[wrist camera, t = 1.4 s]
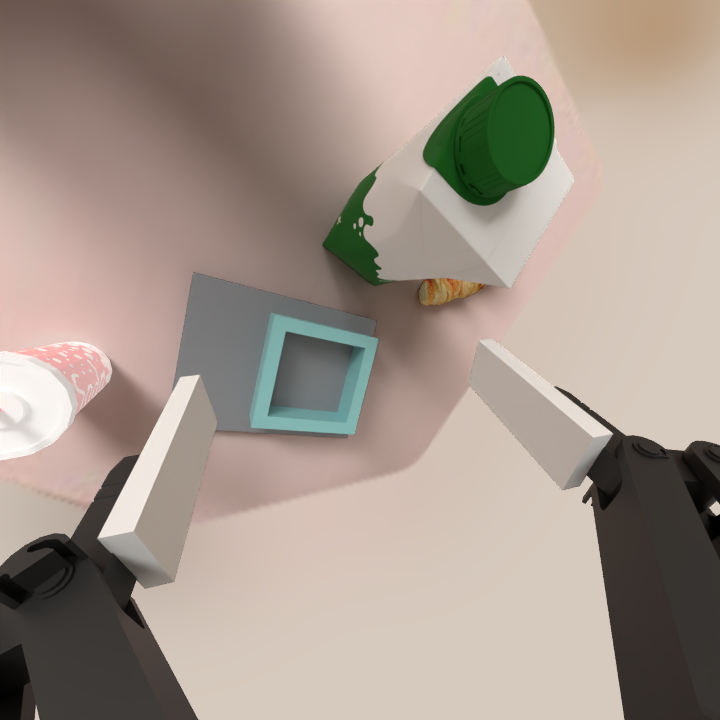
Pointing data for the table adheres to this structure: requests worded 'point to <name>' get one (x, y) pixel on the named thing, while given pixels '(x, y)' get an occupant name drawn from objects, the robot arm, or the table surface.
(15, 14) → the table surface
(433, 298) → the croissant
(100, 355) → the beverage cup
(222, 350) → the dock
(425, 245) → the milk carton
